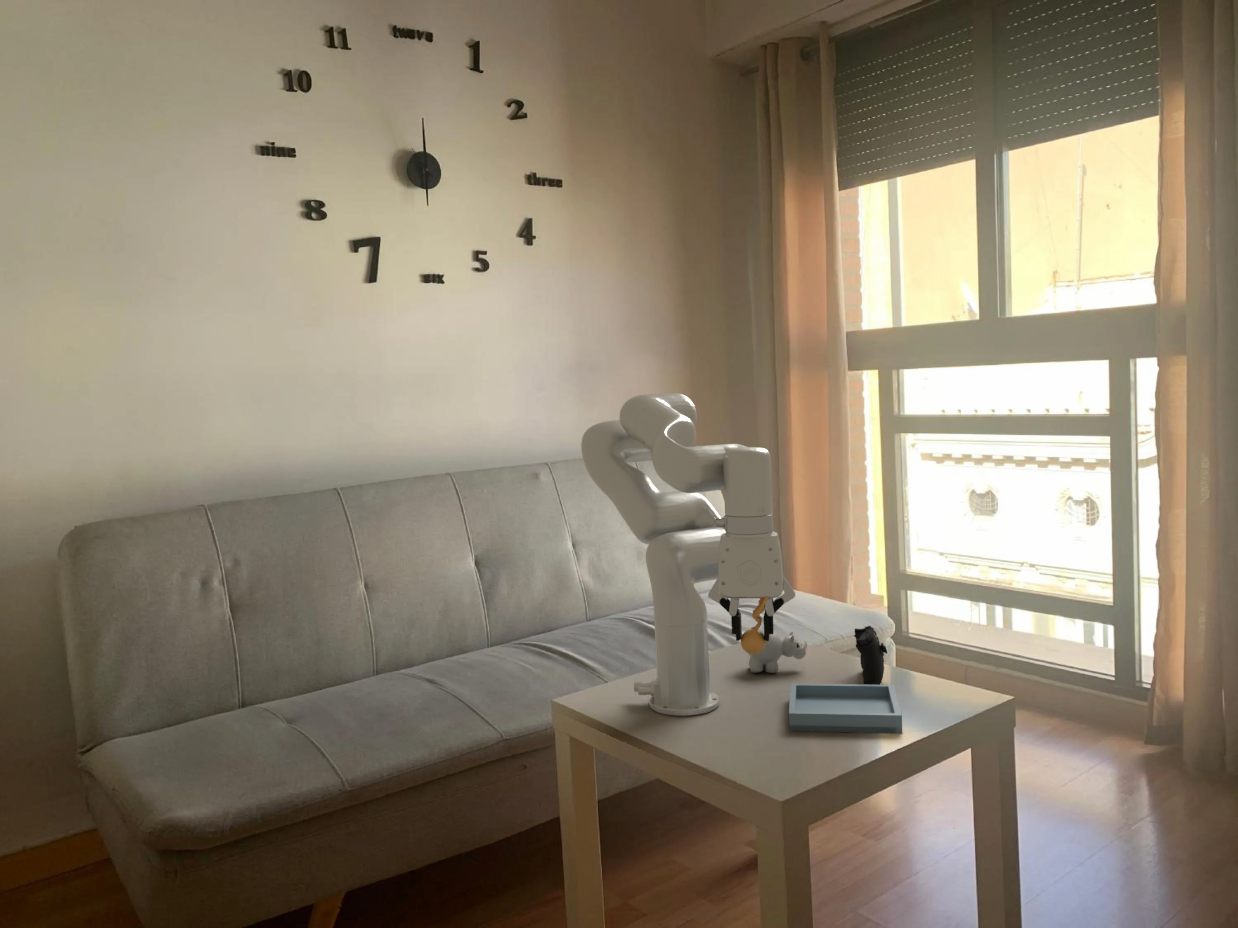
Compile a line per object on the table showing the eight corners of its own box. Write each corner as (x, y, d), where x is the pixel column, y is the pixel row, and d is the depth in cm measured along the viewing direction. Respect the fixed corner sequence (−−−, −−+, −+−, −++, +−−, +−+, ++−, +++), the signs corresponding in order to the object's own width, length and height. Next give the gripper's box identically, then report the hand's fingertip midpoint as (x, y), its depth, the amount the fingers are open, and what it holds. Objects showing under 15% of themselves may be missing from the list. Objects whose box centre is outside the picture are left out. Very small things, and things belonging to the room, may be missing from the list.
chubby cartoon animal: (809, 675, 190) (808, 632, 189) (747, 676, 191) (746, 633, 191) (806, 664, 197) (805, 623, 196) (747, 665, 199) (745, 624, 198)
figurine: (742, 647, 160) (737, 575, 159) (779, 645, 159) (775, 573, 158) (740, 661, 152) (734, 585, 151) (779, 660, 151) (774, 584, 150)
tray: (789, 730, 160) (788, 713, 160) (791, 699, 176) (790, 683, 176) (902, 733, 157) (901, 715, 157) (893, 701, 173) (893, 684, 172)
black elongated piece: (891, 693, 177) (890, 639, 177) (857, 692, 179) (856, 639, 178) (886, 670, 191) (884, 620, 190) (854, 669, 192) (853, 620, 192)
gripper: (694, 529, 152) (698, 644, 153) (802, 528, 149) (805, 645, 150) (699, 522, 159) (703, 632, 161) (802, 520, 156) (806, 632, 157)
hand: (752, 637), depth 155 cm, fingers closed on figurine, 3 cm apart
